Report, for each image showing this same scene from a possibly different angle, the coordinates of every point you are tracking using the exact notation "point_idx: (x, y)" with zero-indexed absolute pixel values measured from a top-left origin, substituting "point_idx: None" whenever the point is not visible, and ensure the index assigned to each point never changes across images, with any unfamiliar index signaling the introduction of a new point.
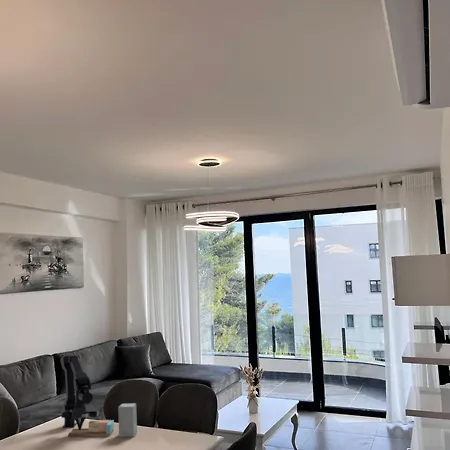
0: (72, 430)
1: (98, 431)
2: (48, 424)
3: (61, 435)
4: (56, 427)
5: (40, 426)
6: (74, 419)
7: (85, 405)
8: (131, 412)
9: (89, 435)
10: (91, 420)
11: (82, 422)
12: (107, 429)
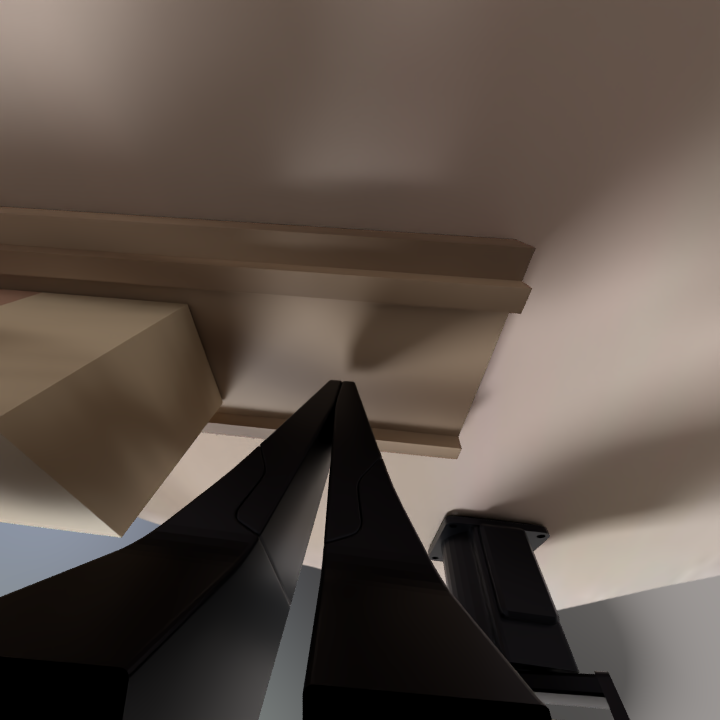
0: (455, 429)
1: (18, 297)
2: (632, 580)
3: (608, 338)
4: (591, 538)
5: (714, 570)
6: (514, 672)
7: None
8: None
9: (141, 219)
10: (106, 534)
11: (222, 481)
12: None
